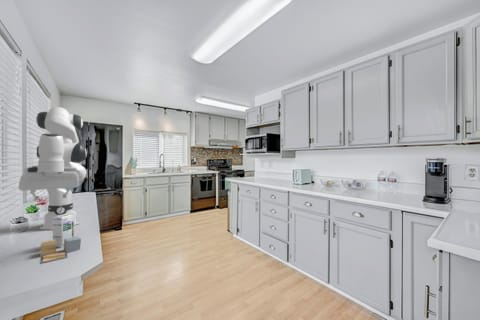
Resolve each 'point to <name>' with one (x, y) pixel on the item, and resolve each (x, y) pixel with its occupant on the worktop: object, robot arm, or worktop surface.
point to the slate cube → (72, 244)
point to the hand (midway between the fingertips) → (51, 199)
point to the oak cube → (48, 247)
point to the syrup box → (63, 228)
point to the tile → (53, 257)
